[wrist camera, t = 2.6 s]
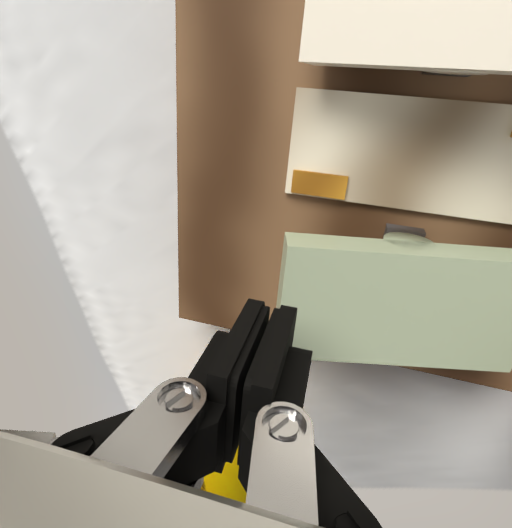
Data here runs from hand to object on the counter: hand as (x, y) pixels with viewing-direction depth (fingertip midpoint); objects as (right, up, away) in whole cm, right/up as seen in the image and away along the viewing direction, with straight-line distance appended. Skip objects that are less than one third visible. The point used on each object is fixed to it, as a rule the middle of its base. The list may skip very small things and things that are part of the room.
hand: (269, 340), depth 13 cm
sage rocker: (+5, +1, +3) cm, 7 cm away
